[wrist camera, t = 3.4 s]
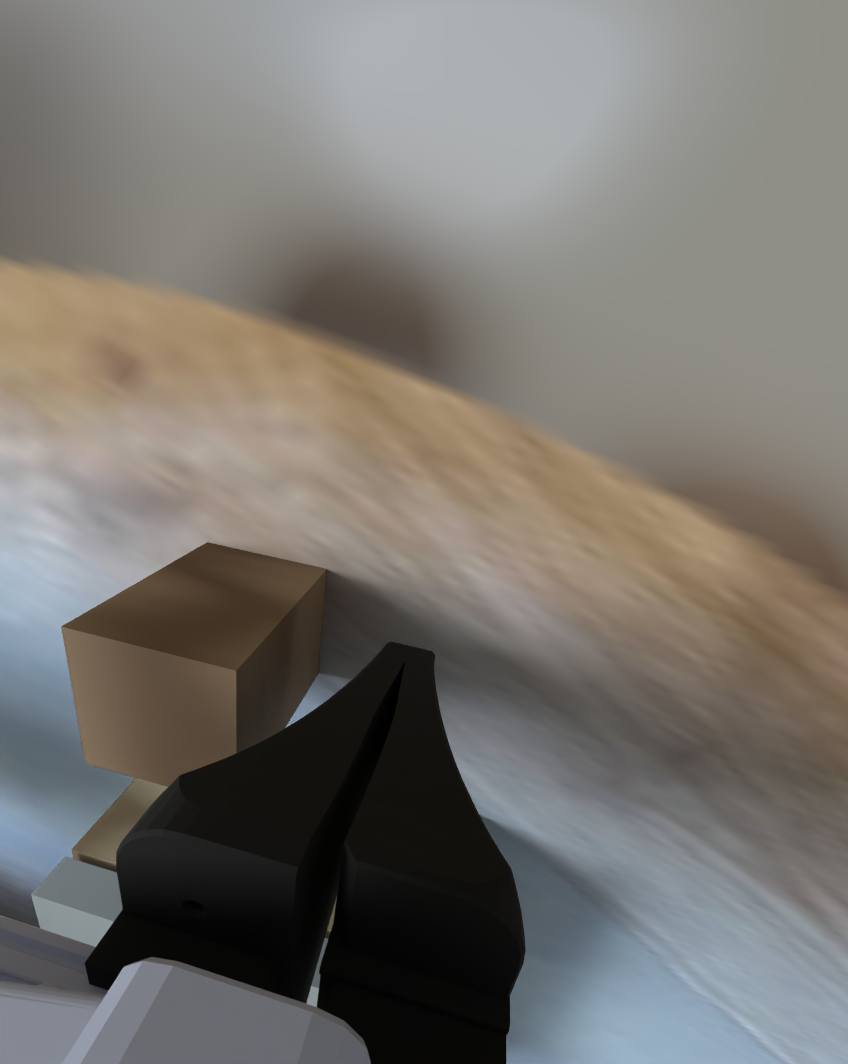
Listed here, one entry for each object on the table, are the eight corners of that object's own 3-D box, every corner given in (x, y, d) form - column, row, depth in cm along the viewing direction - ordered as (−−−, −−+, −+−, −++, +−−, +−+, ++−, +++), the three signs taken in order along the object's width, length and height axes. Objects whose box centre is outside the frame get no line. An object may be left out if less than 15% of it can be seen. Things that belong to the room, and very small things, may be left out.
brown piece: (191, 941, 22) (119, 1073, 18) (176, 733, 17) (71, 849, 13) (422, 1016, 21) (401, 1176, 17) (480, 816, 16) (472, 974, 12)
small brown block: (210, 645, 15) (85, 763, 11) (208, 542, 14) (61, 626, 9) (319, 672, 15) (236, 806, 10) (327, 568, 14) (236, 671, 9)
